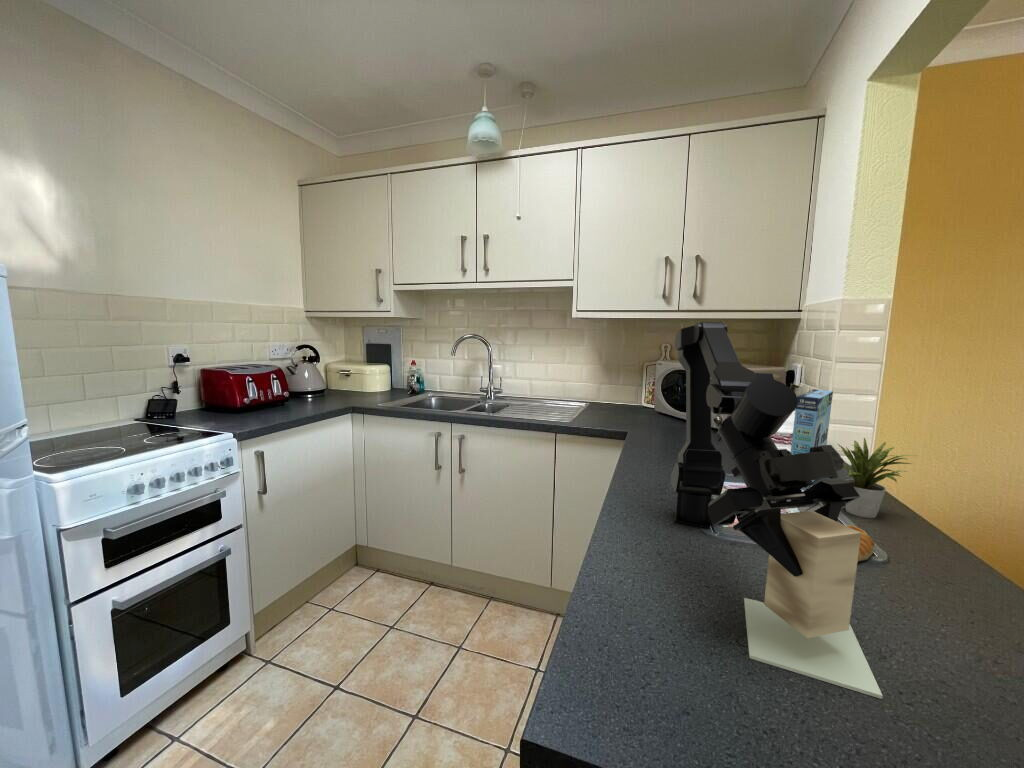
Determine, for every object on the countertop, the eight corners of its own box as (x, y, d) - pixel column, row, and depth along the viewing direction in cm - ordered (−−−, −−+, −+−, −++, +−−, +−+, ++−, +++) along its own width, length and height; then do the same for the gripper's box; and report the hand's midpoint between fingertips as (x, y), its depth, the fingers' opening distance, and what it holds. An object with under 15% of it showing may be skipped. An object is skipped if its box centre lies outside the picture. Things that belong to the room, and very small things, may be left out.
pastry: (869, 571, 68) (872, 549, 67) (818, 556, 72) (820, 535, 72) (874, 550, 74) (876, 530, 74) (827, 537, 79) (829, 518, 79)
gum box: (803, 467, 122) (812, 388, 119) (825, 471, 118) (834, 390, 115) (786, 482, 108) (795, 394, 105) (810, 488, 104) (819, 397, 102)
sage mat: (749, 658, 49) (749, 654, 49) (743, 600, 59) (744, 597, 59) (882, 699, 43) (882, 695, 43) (849, 627, 54) (850, 624, 54)
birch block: (764, 604, 53) (773, 514, 52) (802, 598, 55) (812, 510, 53) (807, 638, 47) (818, 538, 46) (848, 630, 49) (861, 532, 47)
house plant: (891, 536, 79) (902, 452, 77) (808, 510, 91) (816, 436, 89) (916, 520, 87) (927, 443, 85) (837, 497, 99) (845, 429, 97)
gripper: (731, 424, 50) (806, 561, 40) (853, 419, 54) (946, 542, 45) (684, 467, 58) (738, 589, 49) (793, 460, 63) (861, 570, 53)
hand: (821, 572), depth 49 cm, fingers closed on birch block, 6 cm apart
